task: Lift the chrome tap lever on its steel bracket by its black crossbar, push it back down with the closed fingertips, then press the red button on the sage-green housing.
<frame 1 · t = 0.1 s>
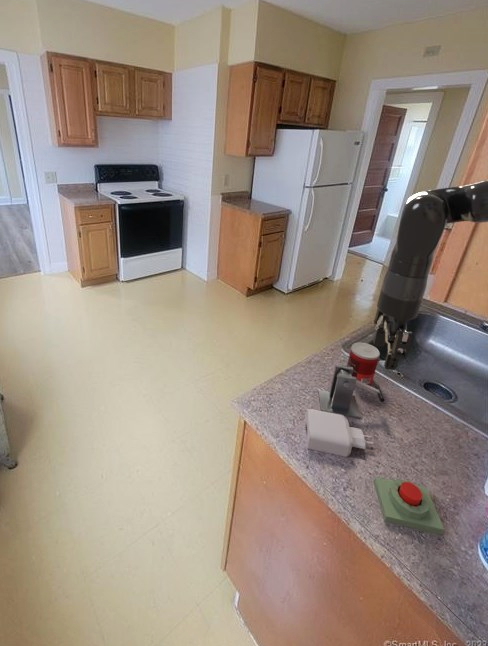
hand: (383, 356, 72), 24 cm above the worktop, tool pointing down, fingers open, 8 cm apart
canned food: (357, 379, 100), on the worktop
button box: (405, 506, 65), on the worktop
button: (410, 493, 63), point 4 cm above the worktop, slide at 0.1 cm
tap lever: (360, 384, 85), point 8 cm above the worktop, hinge at -20.0°
tap bracket: (337, 405, 89), on the worktop
charger: (337, 441, 79), on the worktop
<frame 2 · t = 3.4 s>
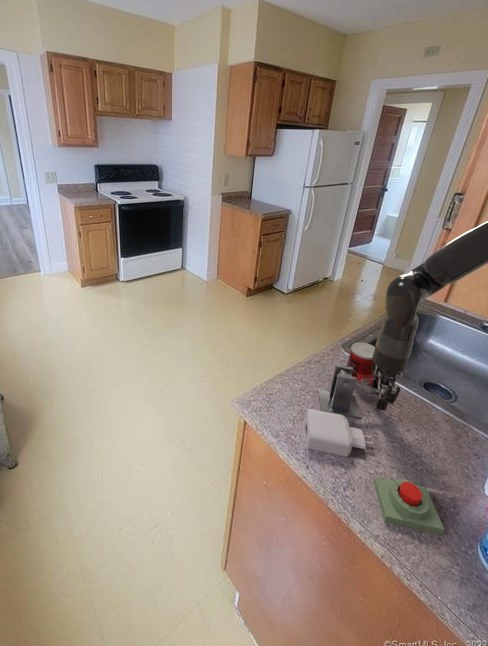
hand: (377, 400, 86), 4 cm above the worktop, tool pointing down, fingers closed on tap lever, 5 cm apart
tap lever: (360, 384, 85), point 8 cm above the worktop, hinge at -20.0°, touching gripper
everything else where it was.
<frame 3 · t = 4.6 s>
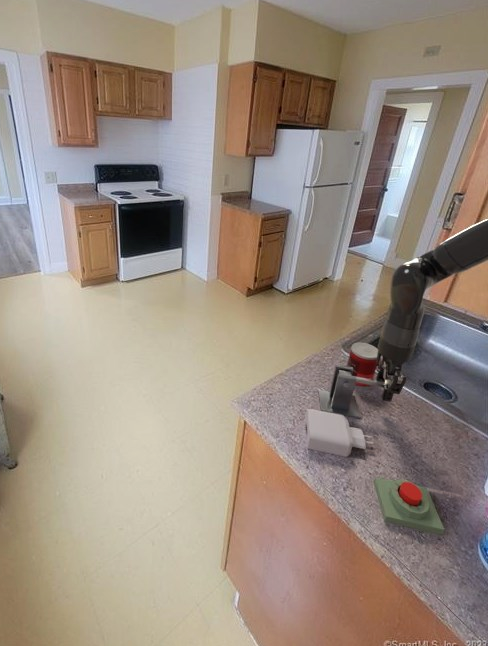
hand: (382, 392, 85), 7 cm above the worktop, tool pointing down, fingers closed on tap lever, 5 cm apart
tap lever: (362, 380, 85), point 10 cm above the worktop, hinge at -2.5°, touching gripper
everything else where it was.
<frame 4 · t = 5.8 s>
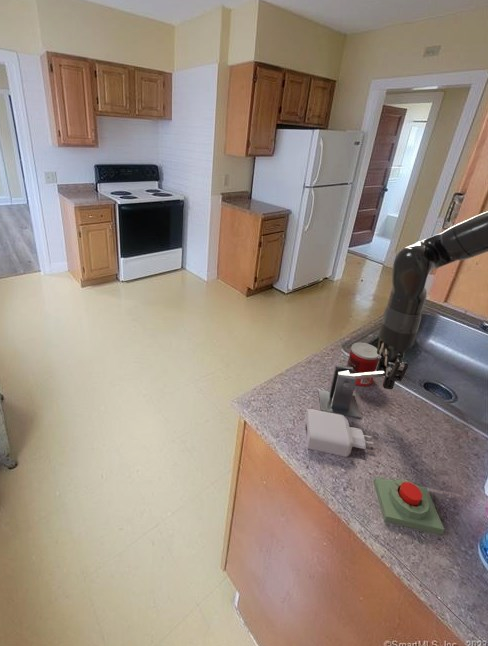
hand: (384, 380, 83), 11 cm above the worktop, tool pointing down, fingers closed on tap lever, 5 cm apart
tap lever: (363, 375, 84), point 11 cm above the worktop, hinge at 18.8°, touching gripper
everything else where it was.
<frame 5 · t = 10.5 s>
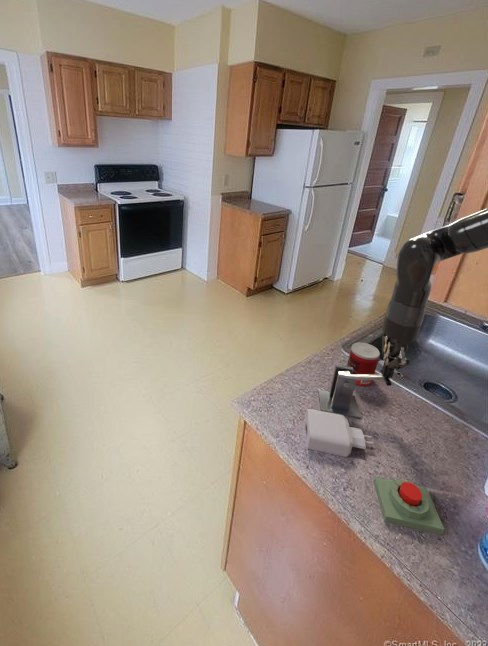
hand: (386, 375, 83), 13 cm above the worktop, tool pointing down, fingers closed
tap lever: (363, 377, 84), point 11 cm above the worktop, hinge at 11.4°, touching gripper
everything else where it was.
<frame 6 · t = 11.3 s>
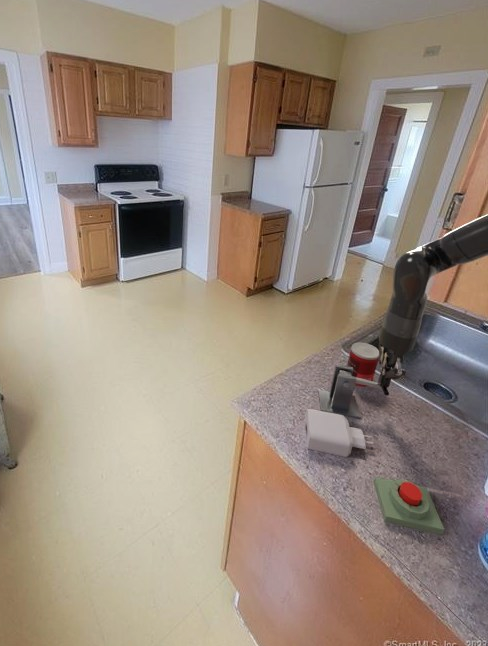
hand: (383, 384, 84), 10 cm above the worktop, tool pointing down, fingers closed
tap lever: (362, 381, 85), point 9 cm above the worktop, hinge at -6.5°, touching gripper
everything else where it was.
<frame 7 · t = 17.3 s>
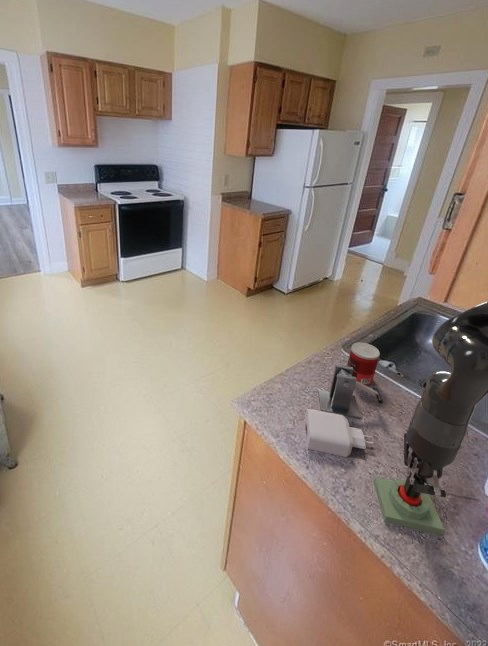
hand: (410, 493, 63), 4 cm above the worktop, tool pointing down, fingers closed
button: (409, 496, 64), point 3 cm above the worktop, slide at -0.6 cm, touching gripper
tap lever: (359, 385, 85), point 8 cm above the worktop, hinge at -24.1°
everything else where it was.
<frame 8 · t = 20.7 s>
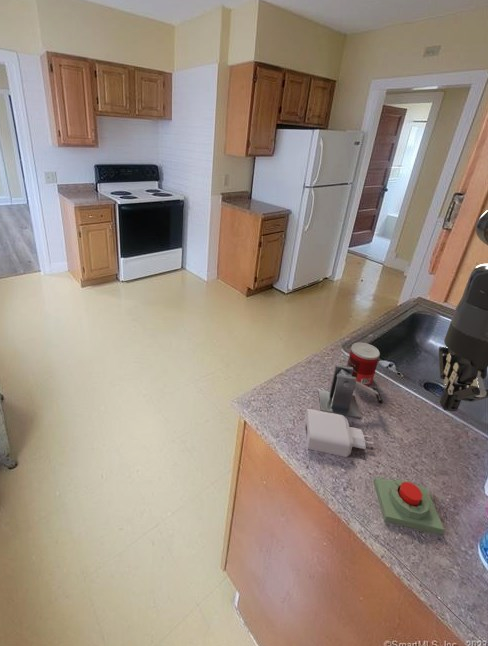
hand: (447, 407, 59), 23 cm above the worktop, tool pointing down, fingers closed
button: (410, 493, 63), point 4 cm above the worktop, slide at 0.1 cm
everything else where it was.
at the end: tap lever reached +20° during the clip, -24° at the end; tap lever at -24° (first picture: -20°); button pushed in 1.1 cm at the most during the clip, back to where it started at the end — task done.
